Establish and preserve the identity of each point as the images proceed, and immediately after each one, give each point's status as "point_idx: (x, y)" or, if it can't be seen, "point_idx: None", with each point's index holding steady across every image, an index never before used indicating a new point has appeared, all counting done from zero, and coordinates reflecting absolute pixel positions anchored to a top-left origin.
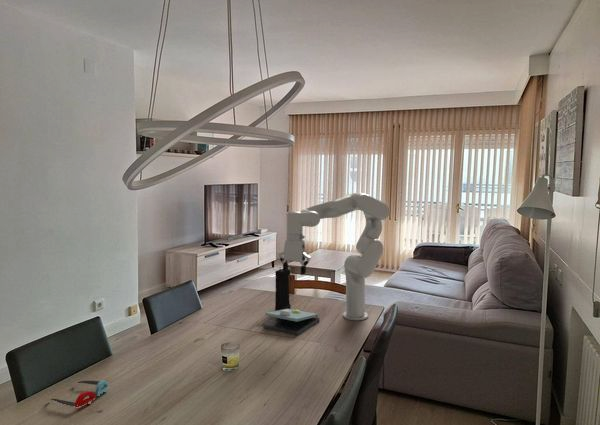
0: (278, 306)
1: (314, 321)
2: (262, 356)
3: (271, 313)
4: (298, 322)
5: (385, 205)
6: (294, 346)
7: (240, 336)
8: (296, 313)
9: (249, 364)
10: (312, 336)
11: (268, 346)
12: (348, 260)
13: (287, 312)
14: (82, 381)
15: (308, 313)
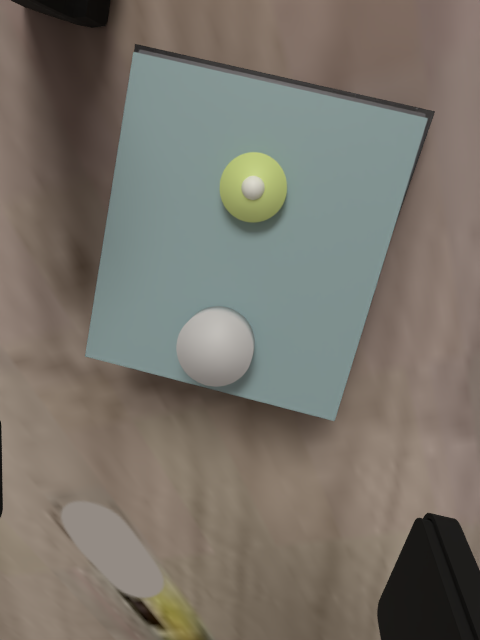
0: (31, 6)
1: (405, 192)
2: (257, 581)
3: (124, 351)
4: None
5: None
6: (355, 493)
7: (71, 439)
8: (269, 225)
9: (239, 630)
10: (421, 373)
11: (241, 508)
12: None
13: (242, 375)
14: None
15: (352, 152)
